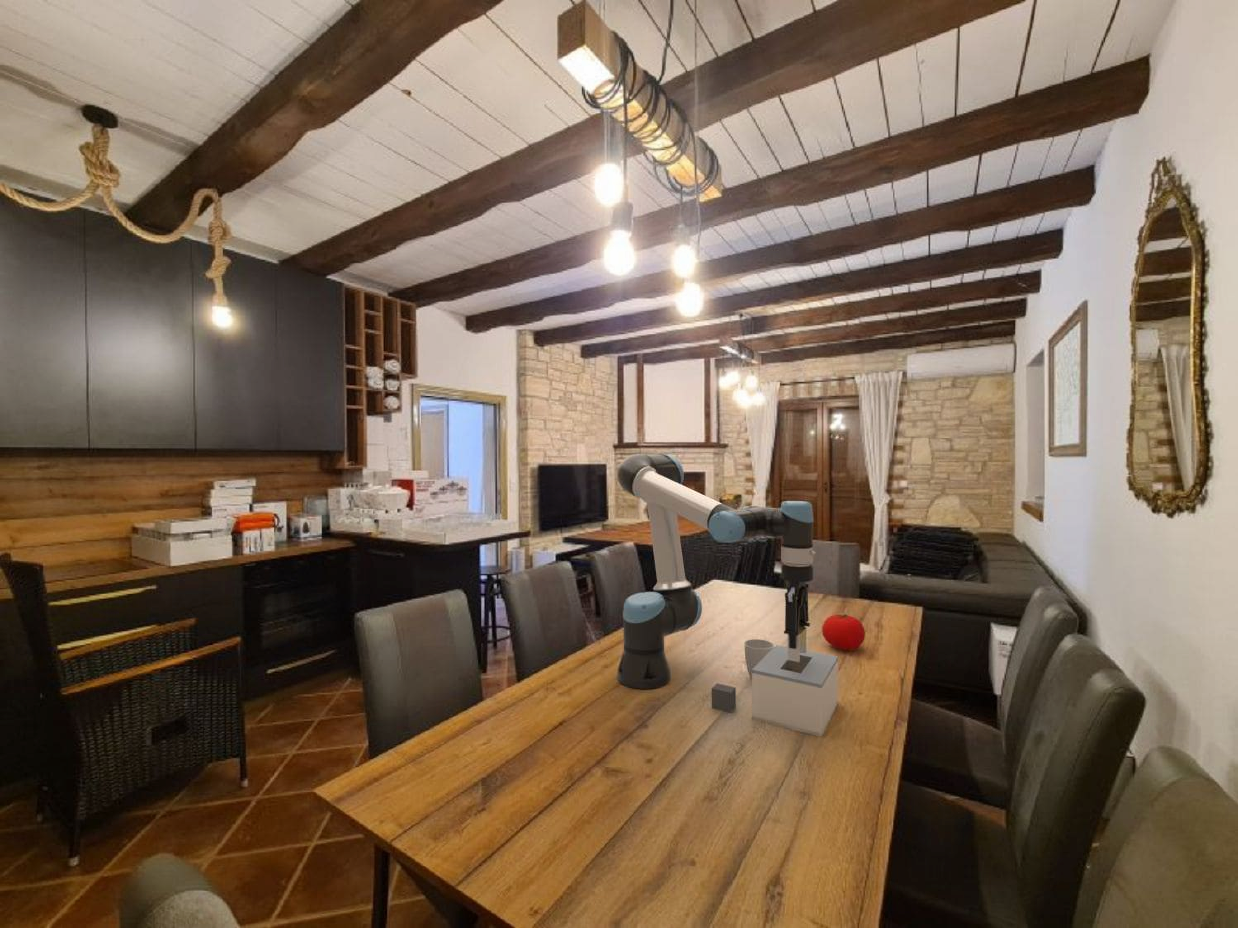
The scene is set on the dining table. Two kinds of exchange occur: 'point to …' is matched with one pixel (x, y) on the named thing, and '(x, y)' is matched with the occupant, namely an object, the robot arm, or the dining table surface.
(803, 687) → the box
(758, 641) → the cup
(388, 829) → the dining table surface
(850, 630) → the tomato
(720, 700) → the block
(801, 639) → the yellow wooden brick
